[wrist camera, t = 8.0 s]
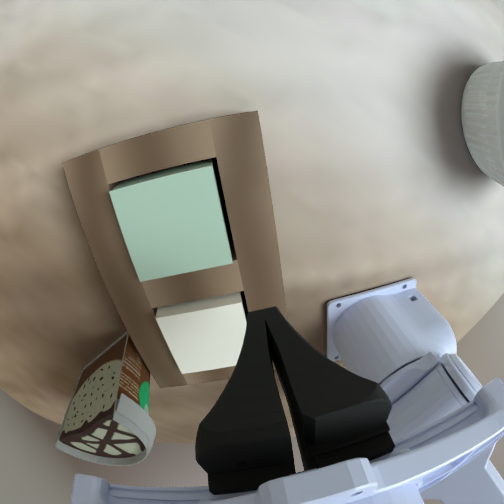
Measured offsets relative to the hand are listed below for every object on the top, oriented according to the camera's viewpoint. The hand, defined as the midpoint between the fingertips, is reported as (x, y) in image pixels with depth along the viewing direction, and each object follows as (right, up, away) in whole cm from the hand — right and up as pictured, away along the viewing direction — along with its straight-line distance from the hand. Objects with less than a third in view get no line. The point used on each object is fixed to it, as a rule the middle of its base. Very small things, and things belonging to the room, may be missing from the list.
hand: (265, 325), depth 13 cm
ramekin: (+23, +16, +6) cm, 29 cm away
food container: (-13, -8, +13) cm, 20 cm away
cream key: (-4, -2, +10) cm, 11 cm away
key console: (-5, +2, +9) cm, 10 cm away
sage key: (-5, +6, +5) cm, 10 cm away
